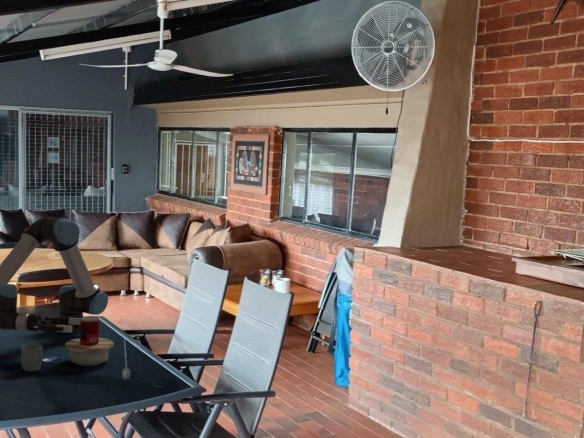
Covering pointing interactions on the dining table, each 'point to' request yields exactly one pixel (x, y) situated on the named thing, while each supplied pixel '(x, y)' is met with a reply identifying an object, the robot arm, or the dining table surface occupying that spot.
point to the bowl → (88, 358)
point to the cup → (31, 357)
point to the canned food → (89, 330)
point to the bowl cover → (101, 346)
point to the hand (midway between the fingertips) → (77, 325)
